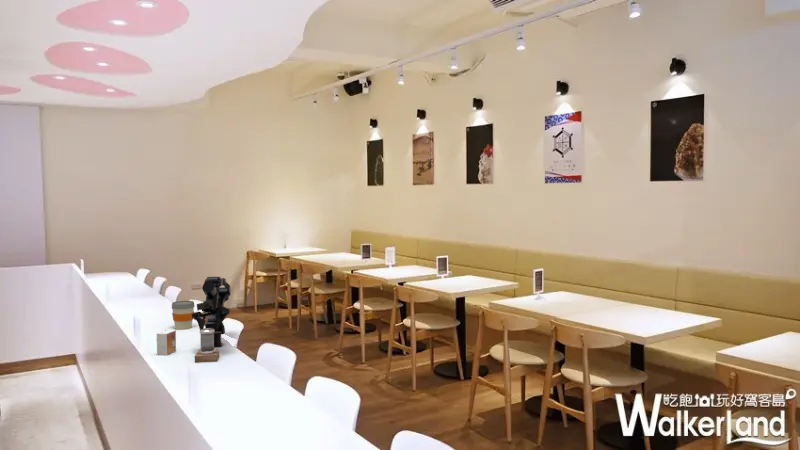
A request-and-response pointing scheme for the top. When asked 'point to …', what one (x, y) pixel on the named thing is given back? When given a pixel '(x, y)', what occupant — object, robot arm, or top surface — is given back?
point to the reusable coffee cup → (183, 314)
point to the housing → (207, 341)
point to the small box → (166, 342)
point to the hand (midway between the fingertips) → (209, 330)
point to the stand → (207, 357)
